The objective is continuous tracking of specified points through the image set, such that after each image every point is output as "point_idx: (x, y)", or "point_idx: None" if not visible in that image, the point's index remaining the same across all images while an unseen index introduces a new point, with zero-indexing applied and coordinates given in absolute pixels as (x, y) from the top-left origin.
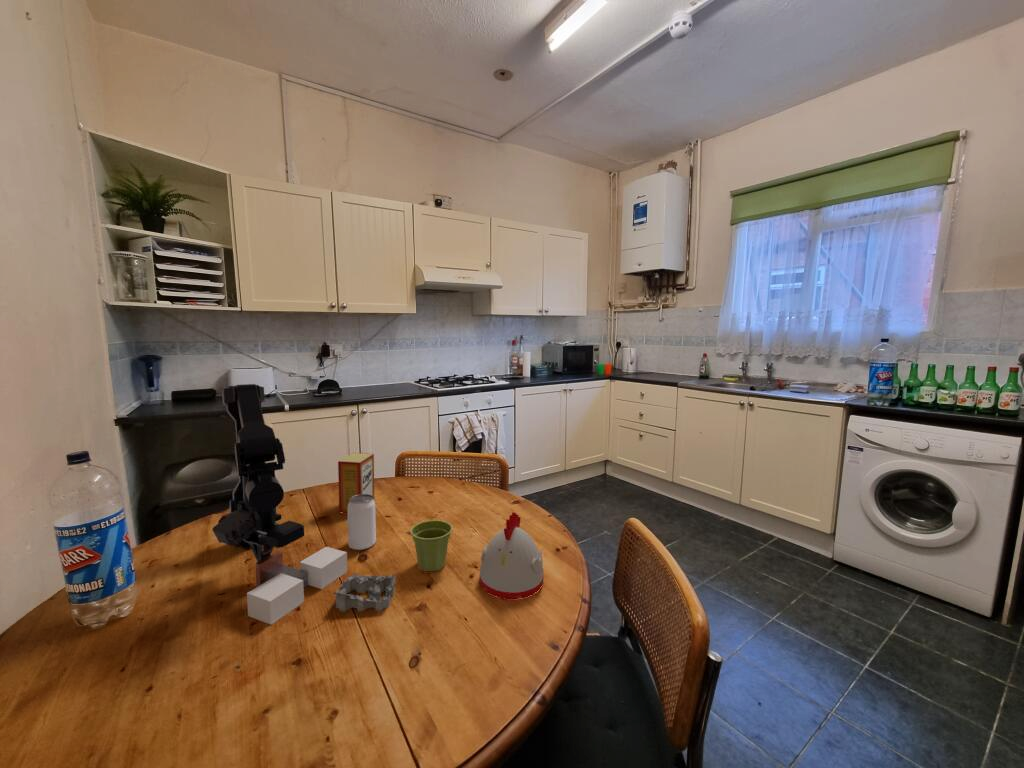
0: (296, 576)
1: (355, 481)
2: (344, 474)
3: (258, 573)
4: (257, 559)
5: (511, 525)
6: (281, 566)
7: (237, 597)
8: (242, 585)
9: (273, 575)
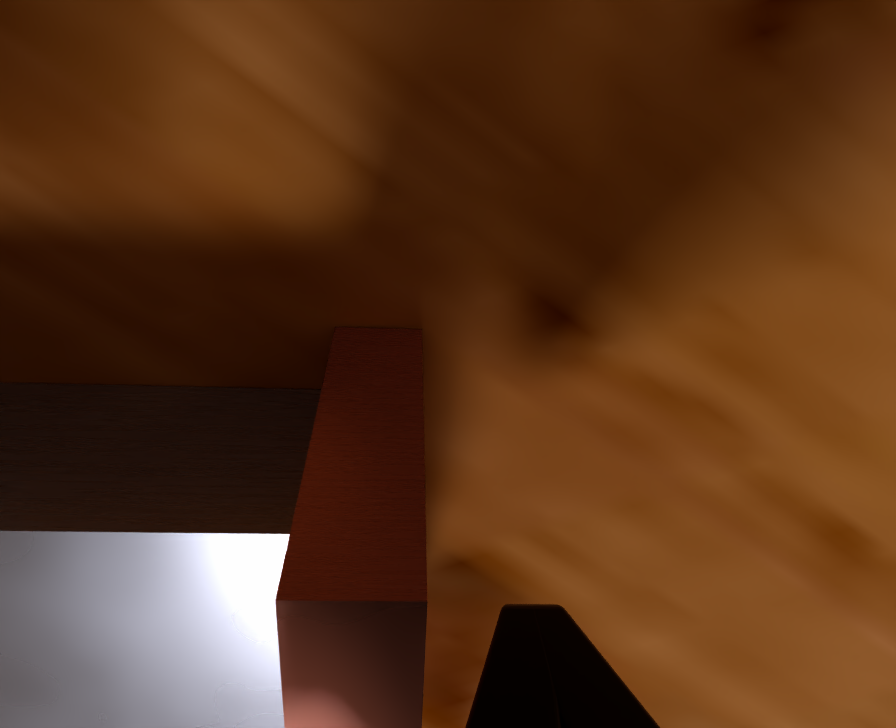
0: None
1: None
2: None
3: (345, 453)
4: (595, 694)
5: None
6: (182, 701)
7: (447, 35)
8: (648, 281)
9: (77, 514)
